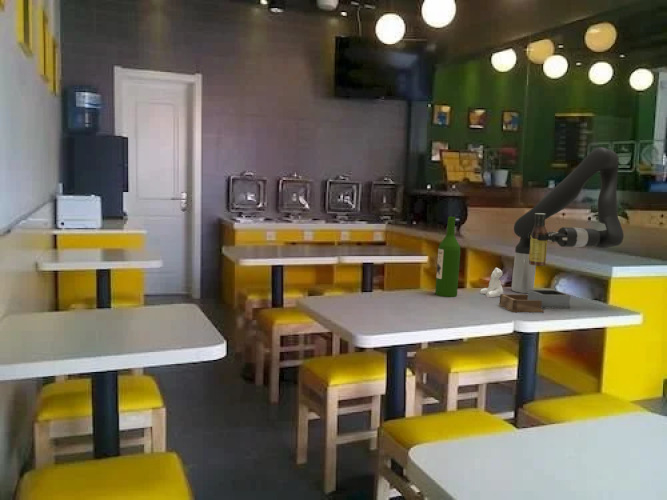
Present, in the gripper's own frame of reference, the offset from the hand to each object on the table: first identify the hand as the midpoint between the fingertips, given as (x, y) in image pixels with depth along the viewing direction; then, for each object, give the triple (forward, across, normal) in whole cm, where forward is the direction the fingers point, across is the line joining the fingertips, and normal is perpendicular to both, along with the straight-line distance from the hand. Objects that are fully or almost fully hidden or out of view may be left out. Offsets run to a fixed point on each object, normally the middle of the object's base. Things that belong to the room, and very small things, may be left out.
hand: (533, 236), depth 236 cm
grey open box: (-12, -5, +28) cm, 31 cm away
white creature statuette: (+3, -24, +28) cm, 37 cm away
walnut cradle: (+4, +2, +28) cm, 28 cm away
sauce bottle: (-2, 0, +11) cm, 11 cm away
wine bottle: (+24, -24, +28) cm, 44 cm away
